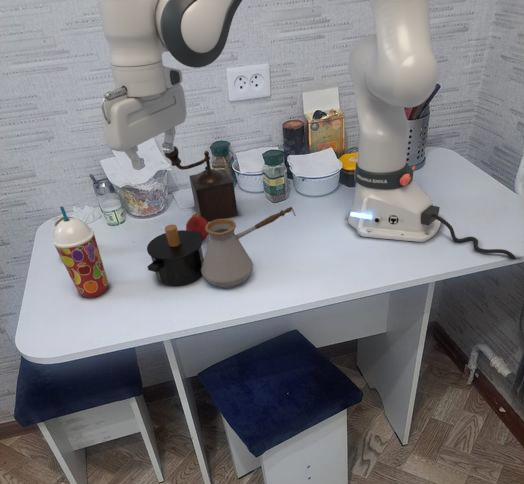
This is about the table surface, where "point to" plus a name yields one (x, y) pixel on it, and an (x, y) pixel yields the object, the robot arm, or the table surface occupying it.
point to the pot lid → (174, 244)
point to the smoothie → (80, 256)
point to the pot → (178, 269)
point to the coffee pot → (229, 252)
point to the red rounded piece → (197, 225)
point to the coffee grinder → (209, 189)
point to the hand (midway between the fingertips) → (154, 160)
